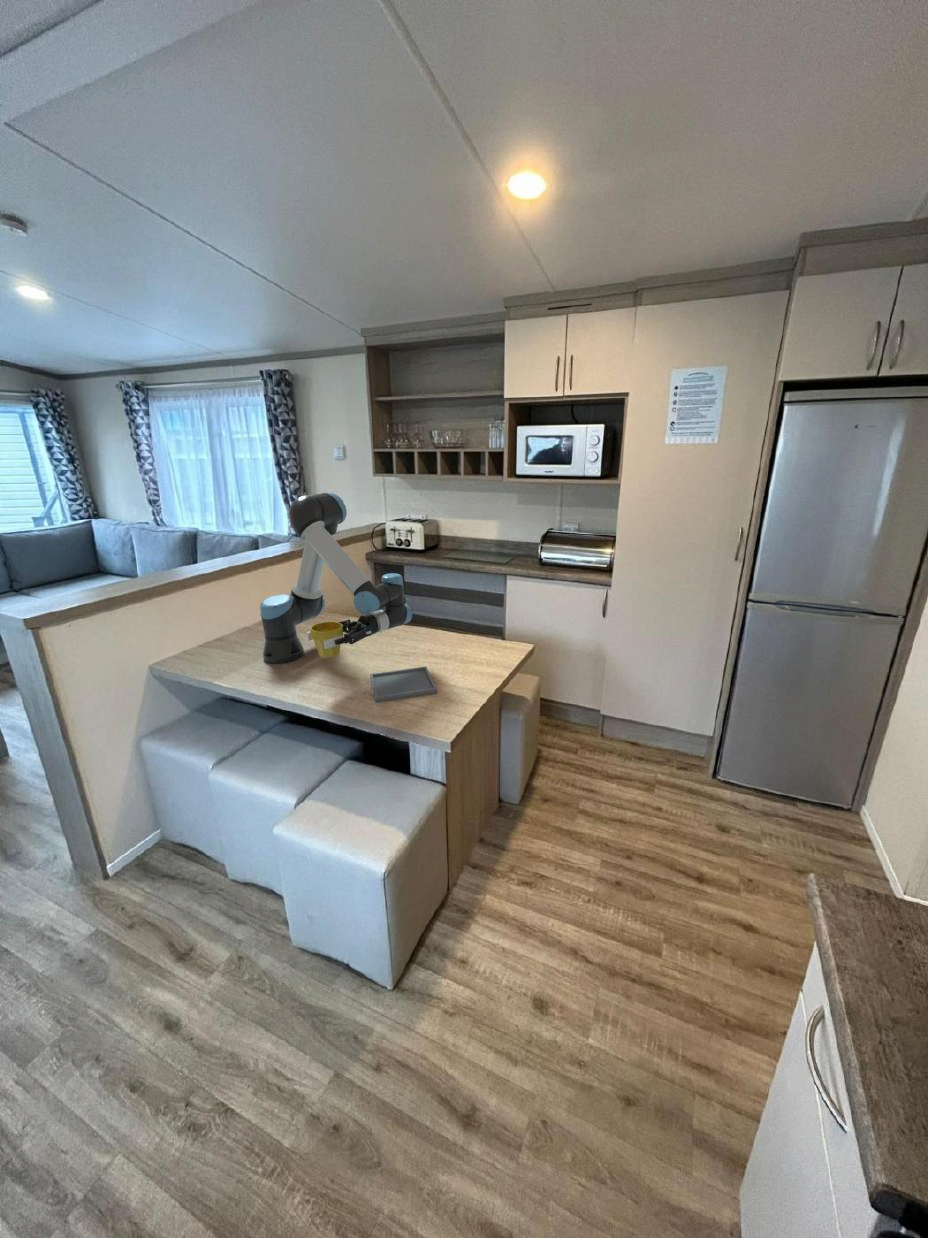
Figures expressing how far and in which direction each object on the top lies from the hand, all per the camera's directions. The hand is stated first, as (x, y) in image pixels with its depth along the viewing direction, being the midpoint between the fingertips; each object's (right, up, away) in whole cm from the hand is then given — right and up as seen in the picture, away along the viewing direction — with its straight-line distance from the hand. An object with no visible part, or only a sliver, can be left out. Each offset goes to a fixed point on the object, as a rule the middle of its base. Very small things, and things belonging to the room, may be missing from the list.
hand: (316, 640), depth 156 cm
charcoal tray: (+27, -16, +8) cm, 32 cm away
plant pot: (+3, -5, +5) cm, 7 cm away
